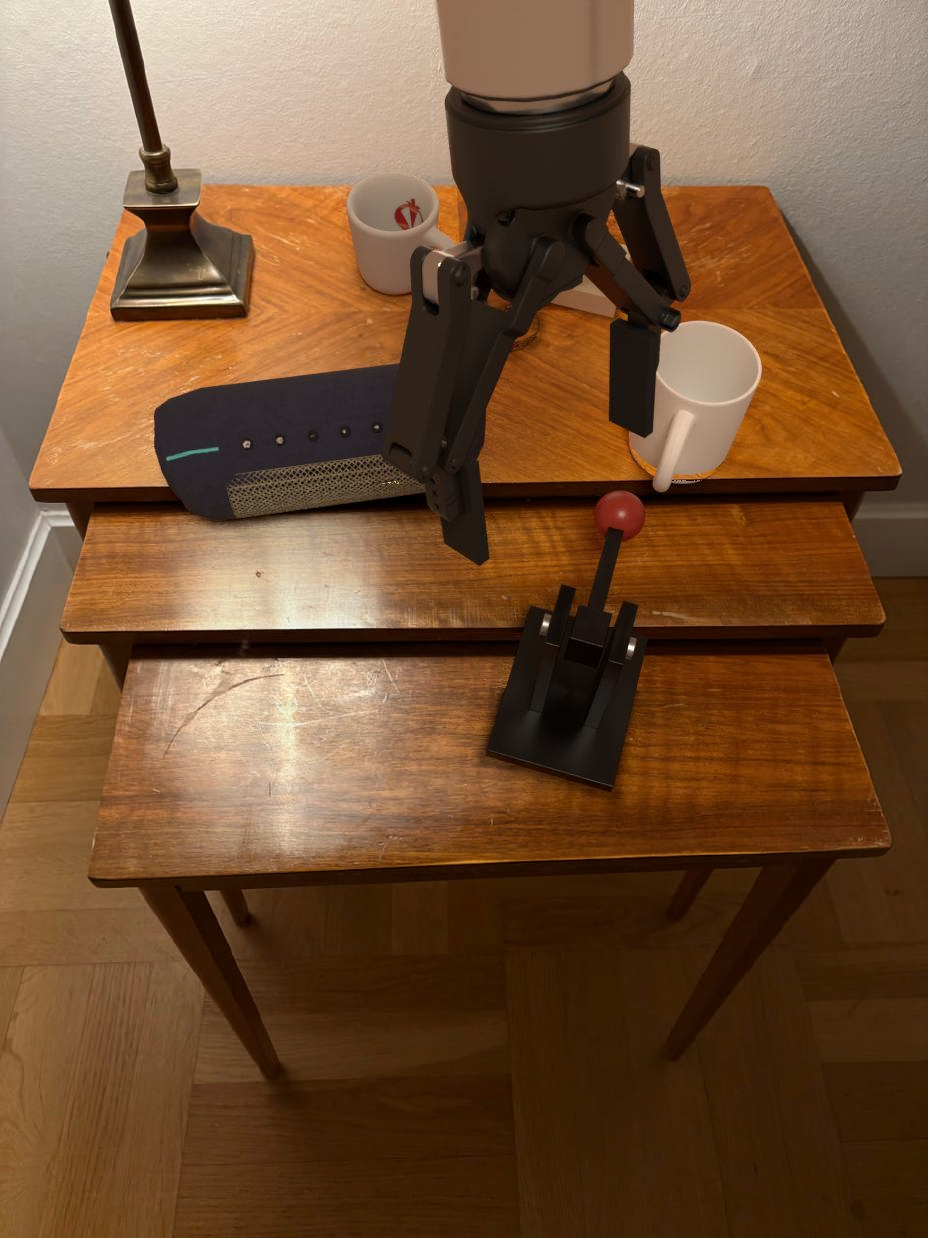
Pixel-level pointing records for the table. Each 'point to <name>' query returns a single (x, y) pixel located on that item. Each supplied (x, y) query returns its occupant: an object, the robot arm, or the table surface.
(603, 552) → the lever
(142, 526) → the table surface
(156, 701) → the table surface
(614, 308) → the button block
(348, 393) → the portable speaker
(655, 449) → the mug
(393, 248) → the cup
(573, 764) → the lever base
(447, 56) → the robot arm
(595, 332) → the table surface
